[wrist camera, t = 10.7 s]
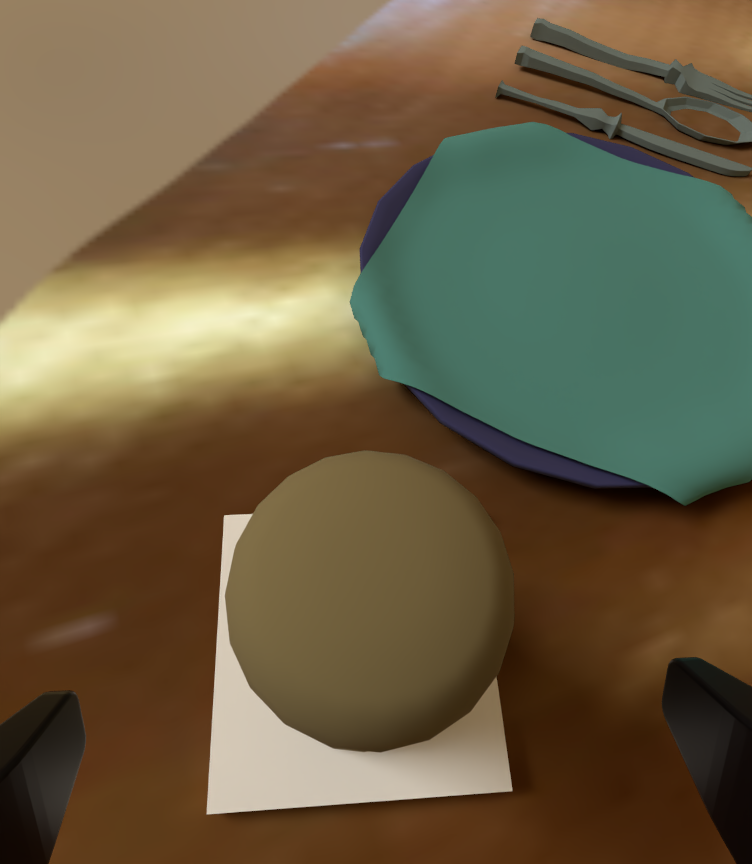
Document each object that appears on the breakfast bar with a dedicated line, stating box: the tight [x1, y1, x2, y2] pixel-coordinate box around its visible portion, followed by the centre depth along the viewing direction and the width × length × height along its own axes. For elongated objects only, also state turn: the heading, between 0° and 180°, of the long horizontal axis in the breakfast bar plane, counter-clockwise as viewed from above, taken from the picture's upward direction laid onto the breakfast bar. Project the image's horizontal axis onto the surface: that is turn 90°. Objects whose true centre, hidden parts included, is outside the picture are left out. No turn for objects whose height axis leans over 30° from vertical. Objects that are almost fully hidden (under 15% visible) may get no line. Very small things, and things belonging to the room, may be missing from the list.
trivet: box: [207, 514, 513, 814], centre depth 19 cm, size 9×9×1 cm
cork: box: [225, 450, 514, 753], centre depth 14 cm, size 6×6×11 cm
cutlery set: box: [350, 18, 752, 506], centre depth 29 cm, size 20×30×2 cm, turn 156°
